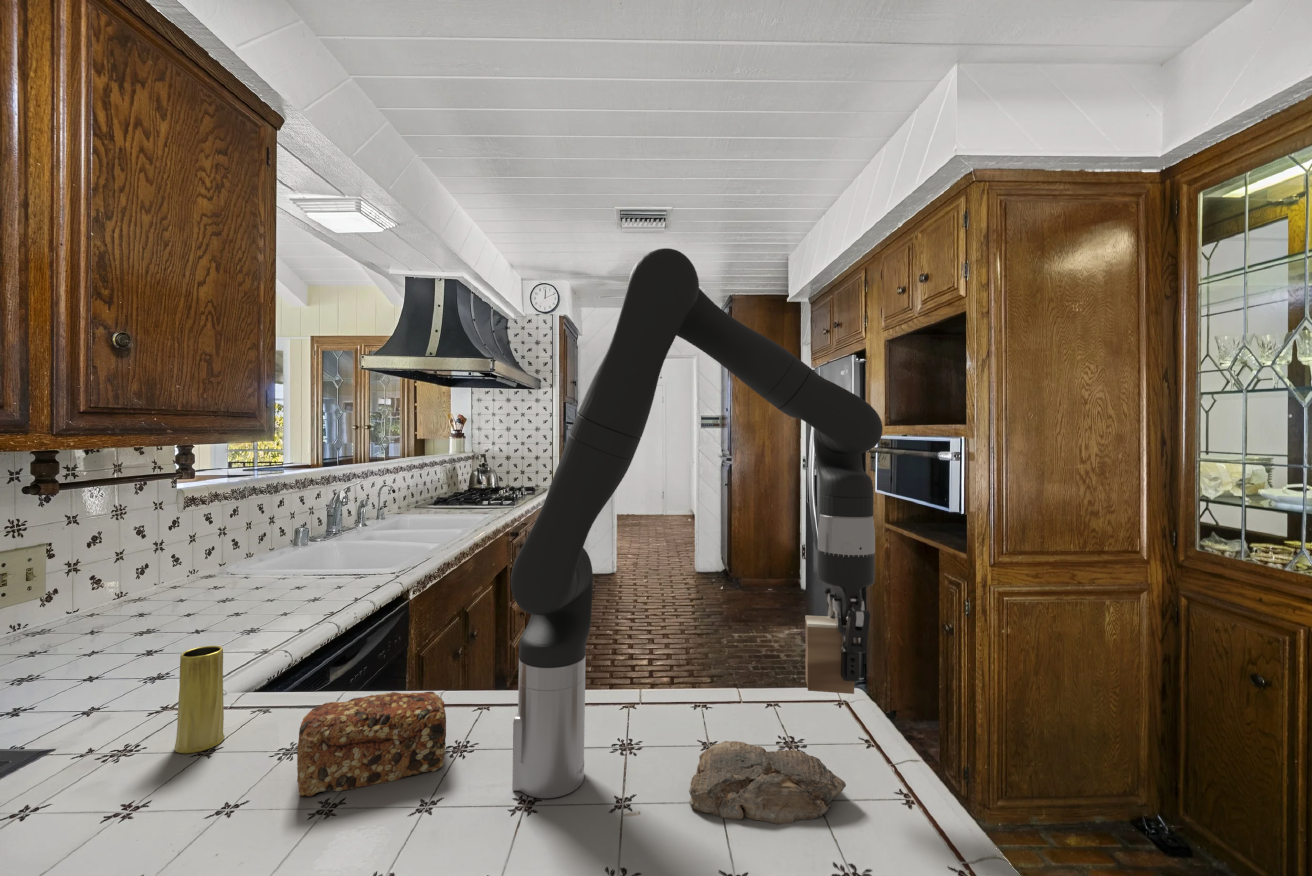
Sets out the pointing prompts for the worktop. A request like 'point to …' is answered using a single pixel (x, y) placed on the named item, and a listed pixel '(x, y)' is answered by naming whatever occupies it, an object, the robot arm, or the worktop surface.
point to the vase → (200, 700)
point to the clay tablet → (762, 784)
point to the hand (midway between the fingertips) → (845, 672)
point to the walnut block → (824, 656)
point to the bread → (370, 741)
